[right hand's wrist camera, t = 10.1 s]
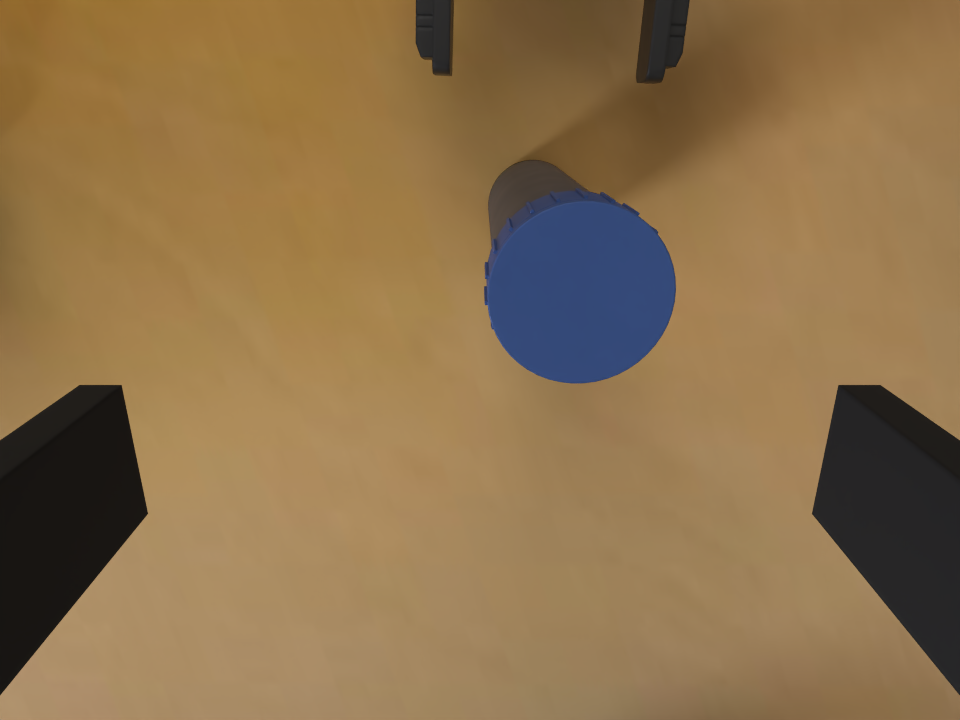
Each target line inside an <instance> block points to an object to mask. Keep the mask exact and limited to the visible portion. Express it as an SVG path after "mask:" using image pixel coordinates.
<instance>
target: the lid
mask: <svg viewBox="0 0 960 720" xmlns="http://www.w3.org/2000/svg"><path fill="white" fill-rule="evenodd" d="M639 214H640V213H638V212H637V211H636V210H634V209H632V208H631V207H629V206H628V205H626V204H625V203H623V205H621V204H619V203H618V202H616V201H615V200H614V199H612V198H611V197H609V196H608V195H606V194H605V193H603V192H601V193H600V194H596V193H593V192H586V191H582V190H581V189H579V188H575V191H563V192H557V193H554V191H551V192H550V195H546V196H543V197H541V198H539V199H536V200H534V201H533V202H531V203H530V202H529V201H528V202H526V206H524V207H523V208H522V209H521V210H519V211H518V212H517V213H515V214H514V216H513V217H512V218H511V219H510V218H509V217H508V218H507V219H506V222H507V223H506V224H505V226H504V227H503V228H502V230H501V231H500V233H499V234H498V236H497V238H496V239H494V238H493V240H492V249H491V252H490V256H489V259H488V262H485V279H487V286H484V296H485V305H488V311H489V316H490V320H491V327H492V329H494V331H495V333H496V336H497V338H498V339H499V341H500V343H501V344H502V346H503V347H504V348H505V350H506V351H507V352H508V353H509V355H510V356H511V357H512V358H514V359H515V360H516V361H517V362H518V363H519V364H520V365H522V366H523V367H525V368H526V369H527V370H529V371H531V372H533V373H535V374H537V375H539V376H541V377H544V378H547V379H550V380H554V381H558V382H564V383H589V382H596V381H600V380H604V379H607V378H610V377H612V376H615V375H618V374H620V373H621V372H623V371H625V370H627V369H629V368H630V367H632V366H633V365H635V364H636V363H638V362H639V361H640V360H641V359H642V358H643V357H645V356H646V355H647V354H648V353H649V352H650V350H651V349H652V348H653V347H654V346H655V345H656V343H657V342H658V340H659V339H660V338H661V336H662V335H663V333H664V331H665V329H666V327H667V325H668V323H669V320H670V317H671V314H672V311H673V307H674V302H675V293H676V282H675V273H674V268H673V264H672V261H671V258H670V255H669V253H668V251H667V249H666V246H665V244H664V243H663V241H662V240H661V238H660V237H659V236H658V231H657V230H656V229H654V228H653V227H651V226H650V225H649V224H647V223H646V222H645V221H644V220H643V219H641V218H640V217H639V216H638V215H639Z"/></svg>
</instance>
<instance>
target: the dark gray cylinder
mask: <svg viewBox="0 0 960 720" xmlns="http://www.w3.org/2000/svg"><path fill="white" fill-rule="evenodd" d="M575 188H579V189H581V190H582V191H586V192H589V191H588V190H586V189H585V188H584V187H583V186H581V185H580V184H579V183H577V182H576V181H575V180H573V179H572V178H571V177H569V176H568V175H567V174H565V173H564V172H563V171H561V170H560V169H559V168H557V167H556V166H554V165H552V164H550V163H548V162H544V161H539V160H527V161H522V162H519V163H516V164H514V165H512V166H510V167H509V168H507V169H506V170H505V171H504V172H503V173H502V174H501V175H500V176H499V177H498V178H497V180H496V181H495V183H494V185H493V187H492V189H491V192H490V196H489V202H488V210H489V222H490V233H491V245H492V240H493V238H494V239H496V238H497V236H498V234H499V233H500V231H501V230H502V228H503V227H504V226H505V224H506V223H507V222H506V219H507V218H508V217H509V218H510V219H511V218H512V217H513V216H514V214H515V213H517V212H518V211H519V210H521V209H522V208H523V207H524V206H526V202H528V201H529V202H530V203H531V202H533V201H534V200H536V199H539V198H541V197H543V196H546V195H550V192H551V191H554V193H557V192H563V191H575Z"/></svg>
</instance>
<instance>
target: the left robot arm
mask: <svg viewBox="0 0 960 720" xmlns="http://www.w3.org/2000/svg"><path fill="white" fill-rule="evenodd" d="M688 8H689V0H644V8H643V17H642V26H641V35H640V44H639V53H638V62H637V71H636V81H637V83H652V84H654V83H661V82H662V80H663V77H664V73H665V69H668V68H672V67H676V65H677V63H678V61H679V59H680V57H681V55H682V53H683V45H684V36H685V30H686V23H687V15H688ZM453 14H454V0H416V45H417V48H418V51H419V53H420V56H421V58H423V59H427V60H432V67H433V74H434V75H441V76H452V58H453Z"/></svg>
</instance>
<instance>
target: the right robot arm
mask: <svg viewBox="0 0 960 720" xmlns="http://www.w3.org/2000/svg"><path fill="white" fill-rule="evenodd" d="M147 514H148V512H147V507H146V502H145V497H144V492H143V487H142V483H141V478H140V473H139V468H138V463H137V458H136V453H135V448H134V444H133V439H132V434H131V429H130V424H129V419H128V414H127V410H126V405H125V400H124V395H123V390H122V385H79V386H78V387H76V388H75V389H73V390H72V391H71V392H69V393H68V394H66V395H65V396H63V397H62V398H60V399H59V400H58V401H56V402H55V403H53V404H52V405H50V406H49V407H48V408H46V409H45V410H43V411H42V412H40V413H39V414H38V415H36V416H35V417H33V418H32V419H30V420H29V421H28V422H26V423H25V424H23V425H22V426H20V427H19V428H17V429H16V430H15V431H13V432H12V433H10V434H9V435H7V436H6V437H5V438H3V439H2V440H0V695H1V694H2V692H3V691H4V690H5V689H6V687H7V686H8V685H9V684H10V683H11V681H12V680H13V679H14V678H15V676H16V675H17V674H18V673H19V671H20V670H21V669H22V668H23V667H24V665H25V664H26V663H27V662H28V660H29V659H30V658H31V657H32V655H33V654H34V653H35V652H36V651H37V649H38V648H39V647H40V646H41V644H42V643H43V642H44V641H45V640H46V638H47V637H48V636H49V635H50V633H51V632H52V631H53V630H54V628H55V627H56V626H57V625H58V624H59V622H60V621H61V620H62V619H63V617H64V616H65V615H66V614H67V613H68V611H69V610H70V609H71V608H72V606H73V605H74V604H75V603H76V601H77V600H78V599H79V598H80V597H81V595H82V594H83V593H84V592H85V590H86V589H87V588H88V587H89V585H90V584H91V583H92V582H93V581H94V579H95V578H96V577H97V576H98V574H99V573H100V572H101V571H102V570H103V568H104V567H105V566H106V565H107V563H108V562H109V561H110V560H111V558H112V557H113V556H114V555H115V554H116V552H117V551H118V550H119V549H120V547H121V546H122V545H123V544H124V543H125V541H126V540H127V539H128V538H129V536H130V535H131V534H132V533H133V531H134V530H135V529H136V528H137V527H138V525H139V524H140V523H141V522H142V520H143V519H144V518H145V517H146V515H147ZM812 514H813V515H814V517H815V518H816V519H817V520H818V522H819V523H820V524H821V525H822V527H823V528H824V529H825V530H826V531H827V533H828V534H829V535H830V536H831V538H832V539H833V540H834V541H835V543H836V544H837V545H838V546H839V547H840V549H841V550H842V551H843V552H844V554H845V555H846V556H847V557H848V558H849V560H850V561H851V562H852V563H853V565H854V566H855V567H856V568H857V570H858V571H859V572H860V573H861V574H862V576H863V577H864V578H865V579H866V581H867V582H868V583H869V584H870V585H871V587H872V588H873V589H874V590H875V592H876V593H877V594H878V595H879V597H880V598H881V599H882V600H883V601H884V603H885V604H886V605H887V606H888V608H889V609H890V610H891V611H892V613H893V614H894V615H895V616H896V617H897V619H898V620H899V621H900V622H901V624H902V625H903V626H904V627H905V628H906V630H907V631H908V632H909V633H910V635H911V636H912V637H913V638H914V640H915V641H916V642H917V643H918V644H919V646H920V647H921V648H922V649H923V651H924V652H925V653H926V654H927V655H928V657H929V658H930V659H931V660H932V662H933V663H934V664H935V665H936V667H937V668H938V669H939V670H940V671H941V673H942V674H943V675H944V676H945V678H946V679H947V680H948V681H949V683H950V684H951V685H952V686H953V687H954V689H955V690H956V691H957V692H958V694H959V695H960V440H958V439H957V438H955V437H954V436H953V435H951V434H950V433H948V432H947V431H945V430H944V429H943V428H941V427H940V426H938V425H937V424H935V423H934V422H932V421H931V420H930V419H928V418H927V417H925V416H924V415H922V414H921V413H920V412H918V411H917V410H915V409H914V408H912V407H911V406H910V405H908V404H907V403H905V402H904V401H902V400H901V399H900V398H898V397H897V396H895V395H894V394H892V393H891V392H889V391H888V390H887V389H885V388H884V387H882V386H881V385H838V390H837V395H836V400H835V405H834V410H833V414H832V419H831V424H830V429H829V434H828V439H827V444H826V448H825V453H824V458H823V463H822V468H821V473H820V478H819V483H818V487H817V492H816V497H815V502H814V507H813V512H812Z"/></svg>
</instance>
